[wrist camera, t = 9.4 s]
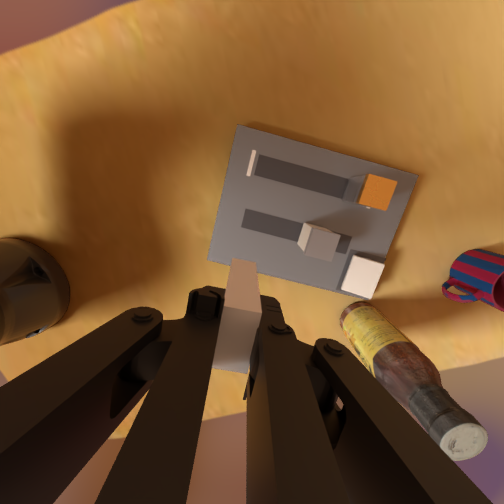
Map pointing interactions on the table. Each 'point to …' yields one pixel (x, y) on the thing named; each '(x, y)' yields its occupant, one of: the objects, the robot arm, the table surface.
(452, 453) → the sauce bottle
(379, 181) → the block
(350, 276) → the block
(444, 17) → the table surface
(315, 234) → the slider cream
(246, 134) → the panel
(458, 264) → the mug
